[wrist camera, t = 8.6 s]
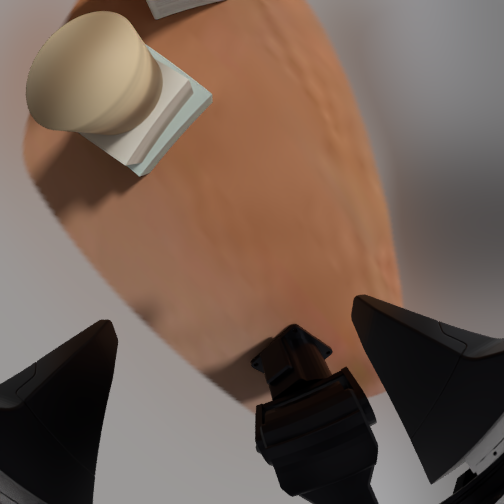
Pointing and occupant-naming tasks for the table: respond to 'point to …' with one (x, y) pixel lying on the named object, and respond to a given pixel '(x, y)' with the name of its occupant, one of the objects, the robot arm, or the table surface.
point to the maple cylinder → (94, 77)
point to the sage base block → (174, 120)
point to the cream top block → (147, 121)
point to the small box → (174, 6)
